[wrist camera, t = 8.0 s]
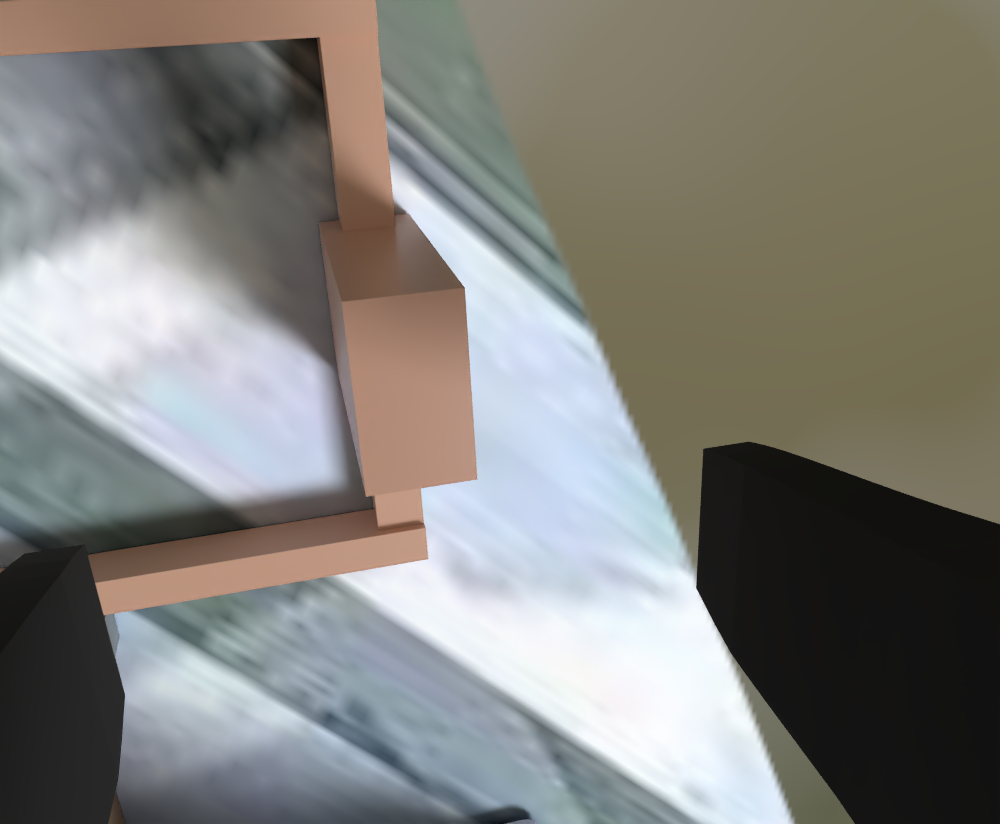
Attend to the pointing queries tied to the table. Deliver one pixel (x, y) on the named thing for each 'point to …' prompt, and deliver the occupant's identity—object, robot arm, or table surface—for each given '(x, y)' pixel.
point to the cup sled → (352, 301)
